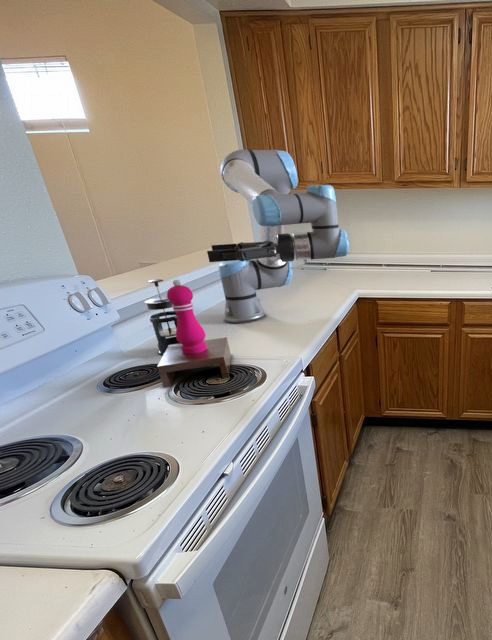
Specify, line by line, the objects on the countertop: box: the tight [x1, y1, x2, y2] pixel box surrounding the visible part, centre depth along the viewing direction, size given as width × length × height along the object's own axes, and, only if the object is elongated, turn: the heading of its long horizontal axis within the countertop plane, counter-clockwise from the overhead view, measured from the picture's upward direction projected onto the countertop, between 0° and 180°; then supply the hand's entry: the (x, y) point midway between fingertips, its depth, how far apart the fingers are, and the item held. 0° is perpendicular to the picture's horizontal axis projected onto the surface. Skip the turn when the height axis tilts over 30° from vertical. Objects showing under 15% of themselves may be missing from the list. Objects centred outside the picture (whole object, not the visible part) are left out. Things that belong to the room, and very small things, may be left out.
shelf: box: [156, 337, 232, 388], centre depth 119 cm, size 18×16×6 cm
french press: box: [144, 278, 181, 356], centre depth 132 cm, size 12×9×23 cm
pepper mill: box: [166, 279, 207, 354], centre depth 114 cm, size 7×7×20 cm
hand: (210, 253), depth 110 cm, fingers open, 13 cm apart
